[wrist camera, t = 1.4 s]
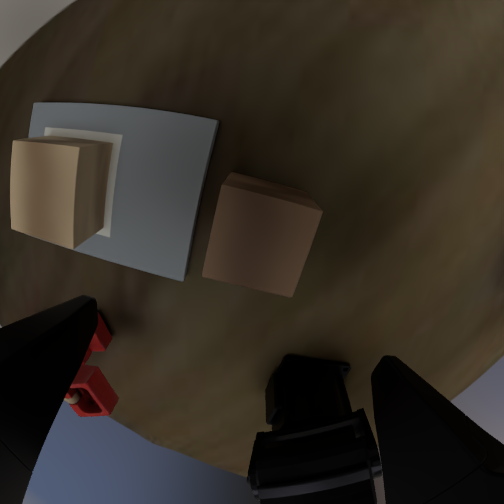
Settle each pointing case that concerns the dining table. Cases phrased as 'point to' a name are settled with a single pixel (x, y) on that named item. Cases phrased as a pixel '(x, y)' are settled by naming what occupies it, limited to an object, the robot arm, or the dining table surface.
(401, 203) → the dining table surface
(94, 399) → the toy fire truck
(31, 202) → the oak base block
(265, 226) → the walnut cube
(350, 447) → the robot arm
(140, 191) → the plate
